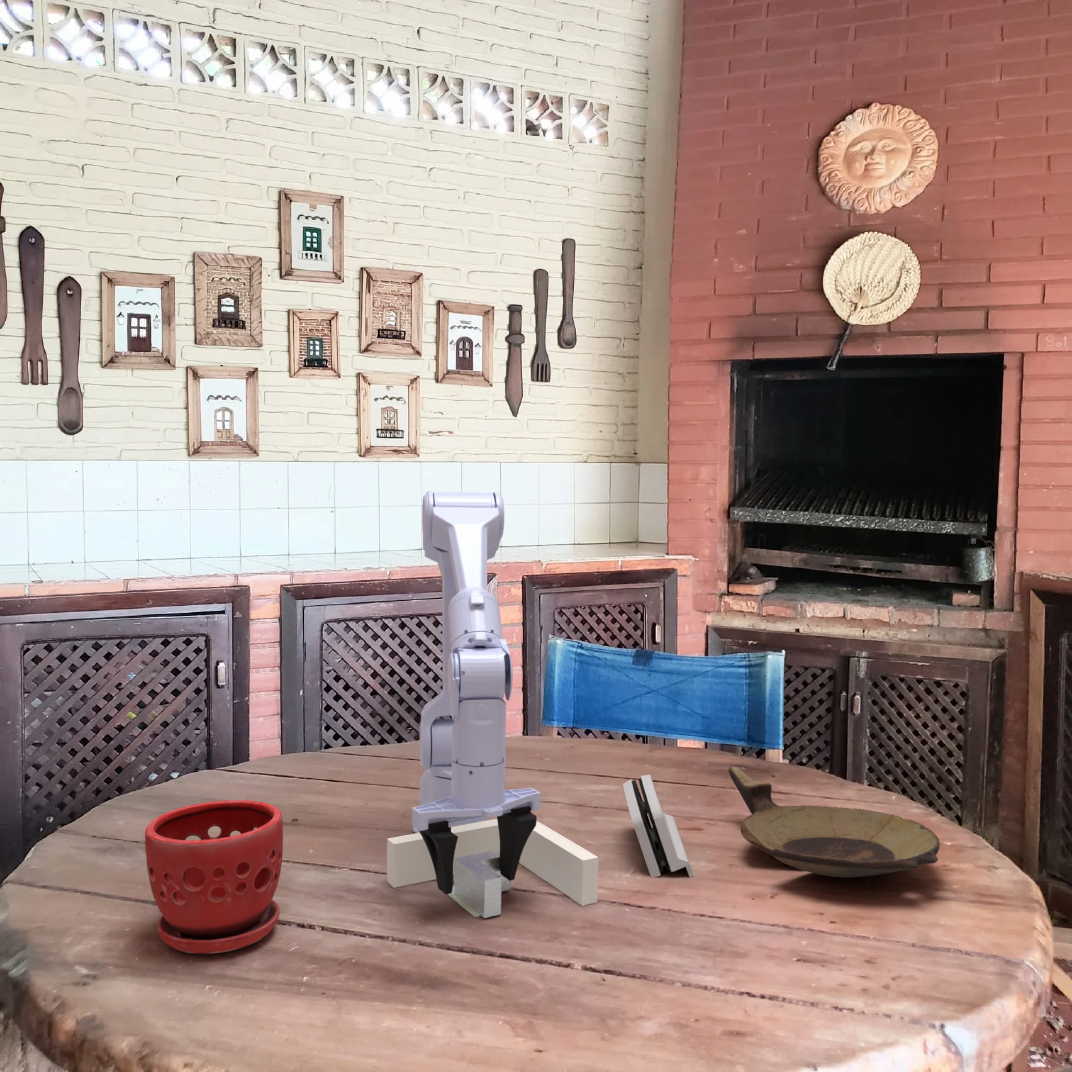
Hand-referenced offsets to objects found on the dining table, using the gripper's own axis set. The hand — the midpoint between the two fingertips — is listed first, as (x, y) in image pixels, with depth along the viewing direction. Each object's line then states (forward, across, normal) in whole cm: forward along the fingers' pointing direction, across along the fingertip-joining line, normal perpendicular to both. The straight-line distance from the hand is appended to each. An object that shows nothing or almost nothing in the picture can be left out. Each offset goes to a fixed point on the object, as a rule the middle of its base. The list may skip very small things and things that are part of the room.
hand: (476, 883), depth 109 cm
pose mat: (+2, +2, +1) cm, 3 cm away
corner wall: (+2, +3, +2) cm, 5 cm away
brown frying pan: (+3, +44, -8) cm, 45 cm away
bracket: (+2, +2, 0) cm, 3 cm away
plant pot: (+3, -26, +6) cm, 27 cm away
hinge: (+3, +27, +4) cm, 27 cm away
